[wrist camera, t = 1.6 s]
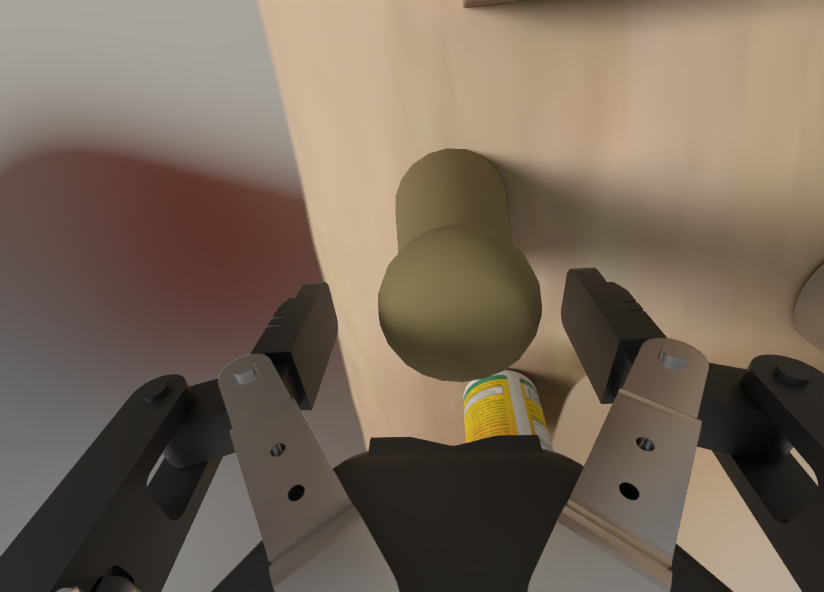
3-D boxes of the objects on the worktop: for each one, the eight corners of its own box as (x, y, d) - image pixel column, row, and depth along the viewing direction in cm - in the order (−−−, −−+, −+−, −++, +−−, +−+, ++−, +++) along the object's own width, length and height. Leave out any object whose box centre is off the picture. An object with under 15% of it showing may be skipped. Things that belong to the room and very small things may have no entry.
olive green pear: (430, 123, 17) (420, 199, 8) (532, 186, 19) (620, 312, 10) (376, 226, 20) (324, 364, 11) (466, 274, 22) (485, 432, 13)
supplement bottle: (547, 374, 26) (595, 517, 18) (520, 421, 29) (550, 561, 21) (474, 360, 26) (489, 498, 18) (454, 409, 29) (459, 546, 21)
